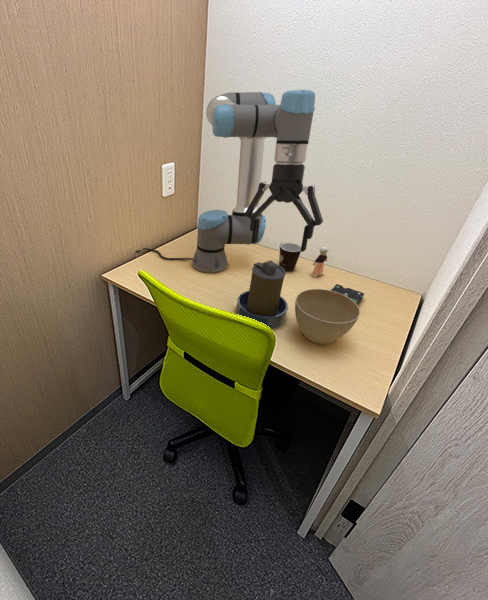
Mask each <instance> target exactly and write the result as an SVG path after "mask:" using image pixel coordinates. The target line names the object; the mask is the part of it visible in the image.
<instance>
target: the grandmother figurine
mask: <svg viewBox="0 0 488 600" xmlns="http://www.w3.org/2000/svg"><path fill="white" fill-rule="evenodd" d="M328 252H329V248H328V247H326V246H322V247H320V248H319V255H318V256H317V257H316V258H315V260H314V262H313V263H312V266H313V271H312V274H311V276H312V277H313V278H319V277H321V276H323V275H324V274H323V273H324V269H325V268H324V266H325V262H327V261H328V255H327V254H328Z"/></svg>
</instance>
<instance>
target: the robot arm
mask: <svg viewBox="0 0 488 600" xmlns="http://www.w3.org/2000/svg"><path fill="white" fill-rule="evenodd" d="M315 103H316V93H315V91H313V90H311V89H293V90H287V91H285V92H283V94H282V95H281V99H280V104H277V103H276V98H275V97H274V95H273V94H272V93H270V92H262V91H255V92H254V91H253V92H248V91H247V92H245V91H244V92H225V93H222V94H220V95H217V96H215V97H214V98H212V99H211V101H209V103H208V104H207V107H206V119H207V121H208V123H209V124H210V125H211V126H212V127H211V128H212V134H213V136H214V137H217V138H218V137H219V138H225V139H226V138H239V140H240V146H239V163H238V176H237V177H238V178H237V193H236V206H235V207H234V208H233V209H232V211H231V212H232V213H231V214H228V212H227V211H226V210H224V209H223V210H221V209H211V210H207V211H204V212H202V213H201V214H200V215H199V216H198V219H197V226H196V227H197V237H196V249H195V252H194V254H193V257H166V256H163V255H162V254H161V253H160V251H159V250H157V249H152V248H147V247H143V249H142V250H138V249H137V250H138V251H137V250H135V253H139V252H140V251H150V252H155V253H157V254H158V256H159V257H160V258H162V259H164V260H169V261H173V260H177V261H179V260H180V261H181V260H183V261H191V267H192V268H193V269H194V270H195V271H197V272H200V273H203V274H218V273H223V272H224V271H225V270H226V269H227V268H228V257H227V254H226V249H225V247H226V245H247V246H249V245H257V244H259V243H261V241H262V239H263V237H264V234H265V231H266V225H267V223H266V222H267V219H266V216H265V215H264V214H263V212H264V211H266V210H267V208H269V206H270V205H271V204H273V203H274V202H275V201H276V202H277V203H282V202H283V203H287V204H290V203H292V204H293V205H294V206H295V207H296V209H297V211H298V212H299V214H300V215H301V217H302V218H303V220H304V221H305V223H306V225H305V226H304V227H303V234H302V240H301V245H300V246H301V252H305V251H306V250H307V246H308V240H311V239H312V238H313V235H314V230H315V227H317V226H320V225H322V224H323V223H324V218H323V217H322V213H321V210H320V207H319V203H318V201H317V197H316V186H315V185H314V184H311V185H304V184H303V181H304V174H305V168H306V165H305V164H304V163H306V161H307V157H308V156H307V155H308V150H309V149H308V148H309V142H310V136H311V131H312V123H313V118H314V112H315V108H316V107H315V106H316V105H315ZM267 138H276V142H275V150H274V158H273V159H274V160H273V161H274V162H275V164H274V165H273V167H272V175H271V182H270V183H268V182H266V181H262V170H263V159H264V148H265V140H266V139H267ZM268 189H269V192H270V193H271V195H270V196H268V198H267V199H266V200H265V201H264V202H263V203H262V204H261V205H260V201H261V199H262V198H263V196H264V194H265V192H267V191H268ZM303 192H304V194H305V195H306V196H307V200H308V203H309V206H310V210H311V212H312V215H313V216H312V215H311V213H310V211H309V210H308V209H307V207H306V205H305V204H304V202H303V199H302V198H301V196H300V195H301V194H302V193H303ZM259 205H260V206H259Z"/></svg>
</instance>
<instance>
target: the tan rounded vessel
mask: <svg viewBox="0 0 488 600" xmlns="http://www.w3.org/2000/svg"><path fill="white" fill-rule="evenodd" d="M294 301H295V303H294V314H295V320H296V323H297V326H298V327H299V329H300V331H301V333H302V335H304V337H305V338H306V339H307V340H309V341H311V342H312V343H315V344H319V345H327V344H329V343H332V342H335V341H337V340H339V339H341V338H342V337H344V336H345V335H346V334H347V333H348V332H349V331H350V330H351V329H352V328H353V327H354V326H355V325H356V322H357V321H358V320H359V317H360V315H361V309H360V307H359V304H358V305H357V304H356V303H355V302H354V301H353V300H351V299H350V298H348V297H347V296H345V295H343V294H340V293H338V292H334V291H331V290H330V289H324V288H311V289H306V290H303V291H301V292H299V293H298V294H297V296H296V297H295V300H294Z"/></svg>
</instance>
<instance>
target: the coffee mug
mask: <svg viewBox="0 0 488 600" xmlns="http://www.w3.org/2000/svg"><path fill="white" fill-rule="evenodd" d="M301 246H302V245H300V244H297V243H293V242H281V243H280V244H279V257H278V265H279V266H280V267H282V268H283V269H284V270H285V272H286V273H293V272H294V271H295V268H296V265H297V263H298V261H299V259H300V256H301V252H302V251H301Z"/></svg>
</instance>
